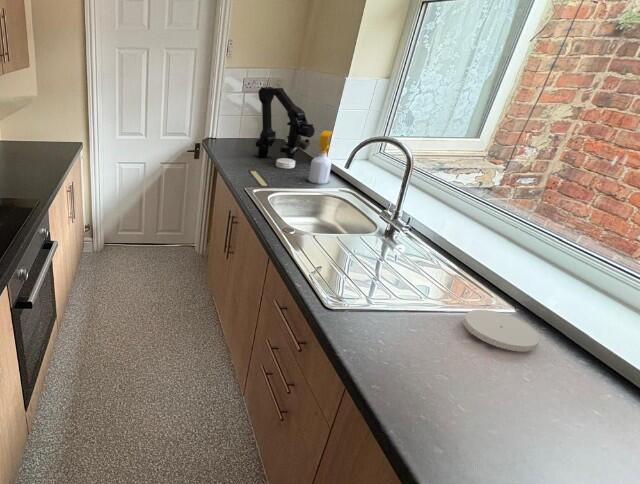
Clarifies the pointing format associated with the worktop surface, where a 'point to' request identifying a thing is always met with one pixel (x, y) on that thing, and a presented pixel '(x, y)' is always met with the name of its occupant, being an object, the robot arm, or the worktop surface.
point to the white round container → (285, 163)
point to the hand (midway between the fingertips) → (290, 162)
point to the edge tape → (258, 178)
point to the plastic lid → (501, 330)
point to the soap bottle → (321, 162)
